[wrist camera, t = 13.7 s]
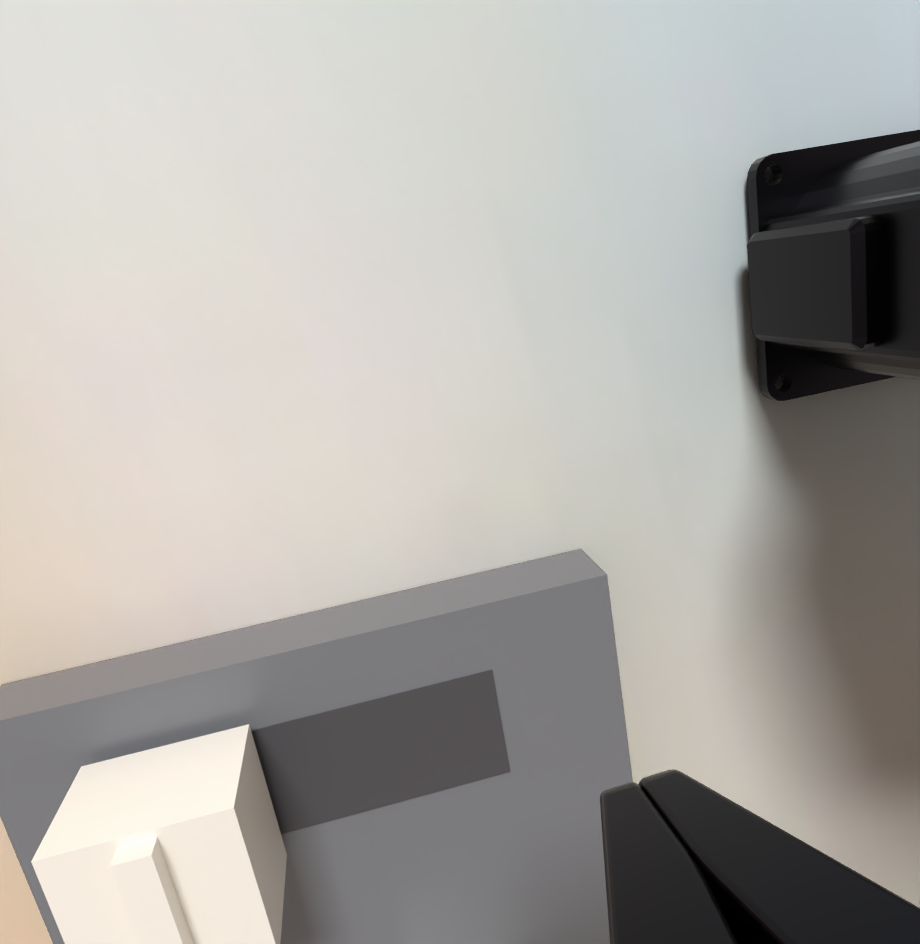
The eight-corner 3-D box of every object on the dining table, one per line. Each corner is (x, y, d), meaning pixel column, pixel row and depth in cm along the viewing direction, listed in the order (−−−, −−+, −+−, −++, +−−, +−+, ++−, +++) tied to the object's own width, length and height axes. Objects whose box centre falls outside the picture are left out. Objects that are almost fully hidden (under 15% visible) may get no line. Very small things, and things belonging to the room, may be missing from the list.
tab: (249, 724, 18) (230, 825, 14) (287, 854, 19) (278, 977, 15) (80, 766, 17) (20, 881, 14) (129, 898, 18) (85, 1034, 15)
